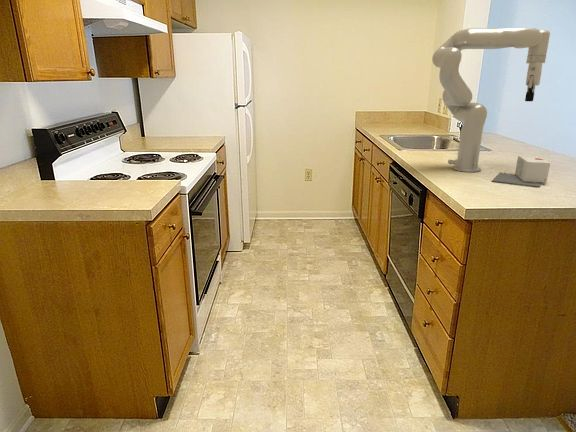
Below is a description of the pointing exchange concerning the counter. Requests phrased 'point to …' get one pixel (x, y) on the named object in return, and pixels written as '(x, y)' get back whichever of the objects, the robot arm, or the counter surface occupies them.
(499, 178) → the mat
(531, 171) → the supplement box
